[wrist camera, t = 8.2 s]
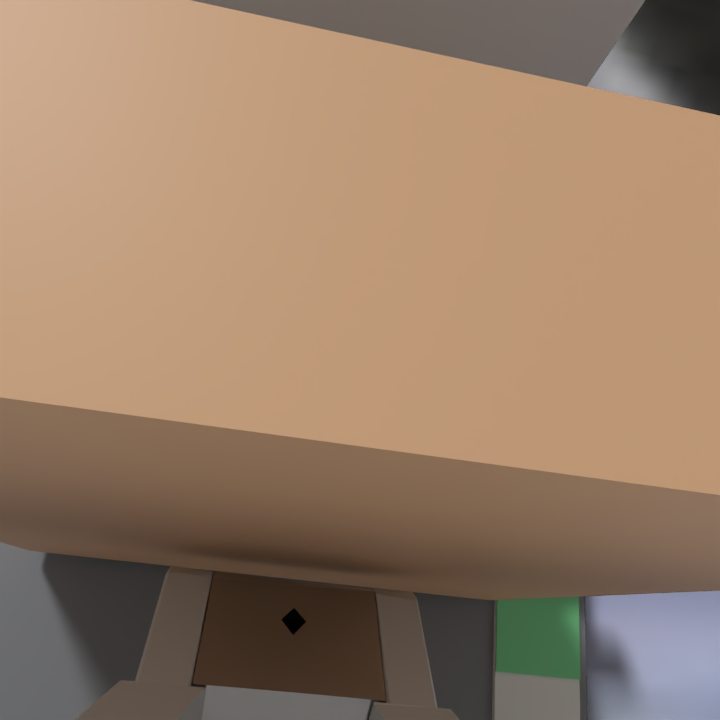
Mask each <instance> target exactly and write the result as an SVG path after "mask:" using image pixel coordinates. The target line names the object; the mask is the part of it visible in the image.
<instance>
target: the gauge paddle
mask: <svg viewBox="0 0 720 720" xmlns="http://www.w3.org/2000/svg"><path fill="white" fill-rule="evenodd" d="M0 542H2V543H5V544H9V545H12V546H15V547H19V548H22V549H25V550H28V551H36V552H45V553H54V554H64V555H73V556H82V557H91V558H101V559H110V560H119V561H129V562H138V563H147V564H156V565H166V566H178V567H186V568H194V569H203V570H212V571H222V572H231V573H240V574H249V575H259V576H268V577H277V578H287V579H296V580H305V581H314V582H324V583H333V584H342V585H352V586H361V587H370V588H379V589H389V590H398V591H407V592H417V593H426V594H435V595H444V596H454V597H463V598H472V599H482V600H510V599H533V598H557V597H580V596H603V595H626V594H649V593H673V592H696V591H719V590H720V115H715V114H710V113H706V112H701V111H697V110H692V109H687V108H683V107H678V106H674V105H669V104H665V103H660V102H655V101H651V100H646V99H642V98H637V97H632V96H628V95H623V94H619V93H614V92H609V91H605V90H600V89H596V88H591V87H586V86H582V85H577V84H573V83H568V82H564V81H559V80H554V79H550V78H545V77H541V76H536V75H531V74H527V73H522V72H518V71H513V70H508V69H504V68H499V67H495V66H490V65H485V64H481V63H476V62H472V61H467V60H463V59H458V58H453V57H449V56H444V55H440V54H435V53H430V52H426V51H421V50H417V49H412V48H407V47H403V46H398V45H394V44H389V43H384V42H380V41H375V40H371V39H366V38H362V37H357V36H352V35H348V34H343V33H339V32H334V31H329V30H325V29H320V28H316V27H311V26H306V25H302V24H297V23H293V22H288V21H283V20H279V19H274V18H270V17H265V16H261V15H256V14H251V13H247V12H242V11H238V10H233V9H228V8H224V7H219V6H215V5H210V4H205V3H201V2H196V1H192V0H0Z"/></svg>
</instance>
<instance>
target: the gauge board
mask: <svg viewBox="0 0 720 720" xmlns="http://www.w3.org/2000/svg"><path fill="white" fill-rule="evenodd" d="M192 1H196V2H201V3H205V4H210V5H215V6H219V7H224V8H228V9H233V10H238V11H242V12H247V13H251V14H256V15H261V16H265V17H270V18H274V19H279V20H283V21H288V22H293V23H297V24H302V25H306V26H311V27H316V28H320V29H325V30H329V31H334V32H339V33H343V34H348V35H352V36H357V37H362V38H366V39H371V40H375V41H380V42H384V43H389V44H394V45H398V46H403V47H407V48H412V49H417V50H421V51H426V52H430V53H435V54H440V55H444V56H449V57H453V58H458V59H463V60H467V61H472V62H476V63H481V64H485V65H490V66H495V67H499V68H504V69H508V70H513V71H518V72H522V73H527V74H531V75H536V76H541V77H545V78H550V79H554V80H559V81H564V82H568V83H573V84H577V85H582V86H587V85H588V83H589V82H590V80H591V79H592V78H593V76H594V75H595V73H596V72H597V70H598V69H599V67H600V66H601V64H602V63H603V61H604V60H605V58H606V57H607V56H608V54H609V53H610V51H611V50H612V48H613V47H614V45H615V44H616V42H617V41H618V39H619V38H620V37H621V35H622V34H623V32H624V31H625V29H626V28H627V26H628V25H629V23H630V22H631V20H632V19H633V17H634V16H635V15H636V13H637V12H638V10H639V9H640V7H641V6H642V4H643V3H644V1H645V0H192ZM169 568H170V566H166V565H156V564H147V563H138V562H129V561H119V560H110V559H101V558H91V557H82V556H73V555H64V554H54V553H45V552H36V551H28V550H25V549H22V548H19V547H15V546H12V545H9V544H5V543H2V542H0V720H75V719H76V718H77V717H78V716H79V715H81V714H82V713H83V712H84V711H85V710H86V709H88V708H89V707H90V706H91V705H92V704H93V703H95V702H96V701H97V700H98V699H99V698H100V697H102V696H103V695H104V694H105V693H106V692H107V691H109V690H110V689H111V688H112V687H113V686H114V685H116V684H117V683H118V682H119V681H120V680H125V681H135V679H136V676H137V672H138V669H139V665H140V662H141V658H142V655H143V651H144V648H145V644H146V641H147V637H148V634H149V630H150V627H151V624H152V620H153V617H154V613H155V610H156V606H157V603H158V599H159V596H160V592H161V589H162V585H163V582H164V578H165V575H166V573H167V571H168V570H169ZM193 569H194V568H193ZM200 570H203V569H200ZM208 571H212V570H208ZM230 573H231V572H230ZM237 574H240V573H237ZM213 575H214V571H213ZM245 575H249V574H245ZM252 576H259V575H252ZM259 577H267V578H274V579H282V580H289V581H299V582H309V583H319V584H329V585H338V586H348V587H358V588H368V589H371V590H372V589H373V588H370V587H361V586H352V585H342V584H333V583H324V582H314V581H305V580H296V579H287V578H277V577H268V576H259ZM374 589H379V588H374ZM385 590H389V589H385ZM396 591H398V590H396ZM413 594H414V595H415V596H416V598H417V601H418V607H419V612H420V617H421V622H422V628H423V633H424V638H425V643H426V649H427V654H428V659H429V665H430V670H431V675H432V680H433V686H434V691H435V696H436V702H437V707H438V708H445V709H451V710H452V711H453V713H454V714H455V715H456V716H457V717H458V718H459V719H460V720H588V719H587V677H586V636H585V596H580V597H557V598H533V599H510V600H482V599H472V598H463V597H454V596H444V595H435V594H426V593H417V592H413Z"/></svg>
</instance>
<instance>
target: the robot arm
mask: <svg viewBox="0 0 720 720" xmlns="http://www.w3.org/2000/svg"><path fill="white" fill-rule="evenodd" d="M75 720H460V719H459V718H458V717H457V716H456V715H455V714H454V713H453V711H452V710H451V709H445V708H438V707H437V702H436V696H435V691H434V686H433V680H432V675H431V670H430V665H429V659H428V654H427V649H426V643H425V638H424V633H423V628H422V622H421V617H420V612H419V607H418V601H417V598H416V596H415V595H414V594H413V592H407V591H396V590H385V589H374V588H373V589H372V590H371V589H368V588H358V587H348V586H338V585H329V584H319V583H309V582H299V581H289V580H282V579H274V578H267V577H259V576H252V575H245V574H237V573H230V572H222V571H214V575H213V571H208V570H200V569H193V568H186V567H178V566H170V568H169V570H168V571H167V573H166V575H165V578H164V582H163V585H162V589H161V592H160V596H159V599H158V603H157V606H156V610H155V613H154V617H153V620H152V624H151V627H150V630H149V634H148V637H147V641H146V644H145V648H144V651H143V655H142V658H141V662H140V665H139V669H138V672H137V676H136V679H135V681H125V680H120V681H119V682H118V683H117V684H116V685H114V686H113V687H112V688H111V689H110V690H109V691H107V692H106V693H105V694H104V695H103V696H102V697H100V698H99V699H98V700H97V701H96V702H95V703H93V704H92V705H91V706H90V707H89V708H88V709H86V710H85V711H84V712H83V713H82V714H81V715H79V716H78V717H77V718H76V719H75Z"/></svg>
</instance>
